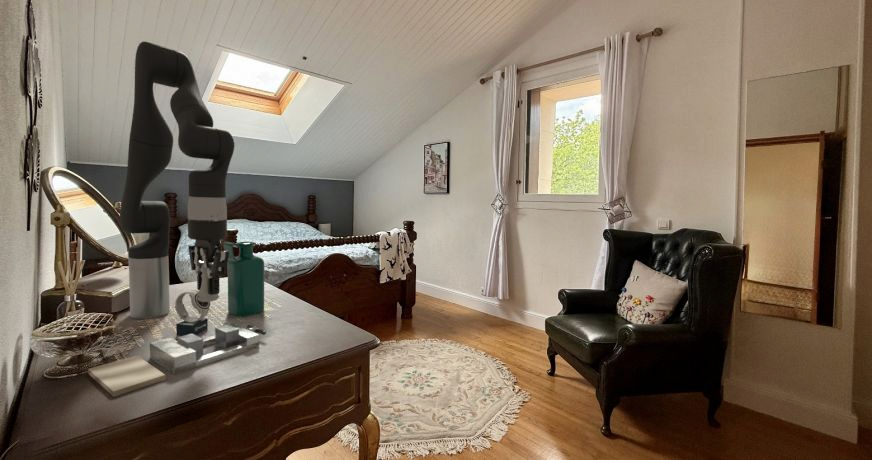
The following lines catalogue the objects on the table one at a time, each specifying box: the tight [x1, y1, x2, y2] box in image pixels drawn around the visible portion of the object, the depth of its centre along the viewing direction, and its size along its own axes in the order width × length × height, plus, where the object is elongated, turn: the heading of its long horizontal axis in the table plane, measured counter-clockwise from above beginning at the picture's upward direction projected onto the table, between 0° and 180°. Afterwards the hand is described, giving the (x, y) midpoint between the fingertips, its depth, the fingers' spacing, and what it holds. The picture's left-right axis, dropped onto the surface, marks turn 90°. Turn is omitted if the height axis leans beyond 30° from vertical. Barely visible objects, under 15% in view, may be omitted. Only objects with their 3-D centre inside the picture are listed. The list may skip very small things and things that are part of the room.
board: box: [87, 355, 166, 398], centre depth 74 cm, size 14×8×1 cm, turn 57°
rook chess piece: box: [197, 265, 220, 303], centre depth 85 cm, size 4×4×8 cm
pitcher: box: [222, 241, 265, 318], centre depth 114 cm, size 10×8×22 cm
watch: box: [174, 289, 211, 337], centre depth 97 cm, size 6×8×11 cm
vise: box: [149, 323, 267, 375], centre depth 87 cm, size 12×21×4 cm, turn 147°
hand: (208, 291), depth 85 cm, fingers closed on rook chess piece, 4 cm apart
